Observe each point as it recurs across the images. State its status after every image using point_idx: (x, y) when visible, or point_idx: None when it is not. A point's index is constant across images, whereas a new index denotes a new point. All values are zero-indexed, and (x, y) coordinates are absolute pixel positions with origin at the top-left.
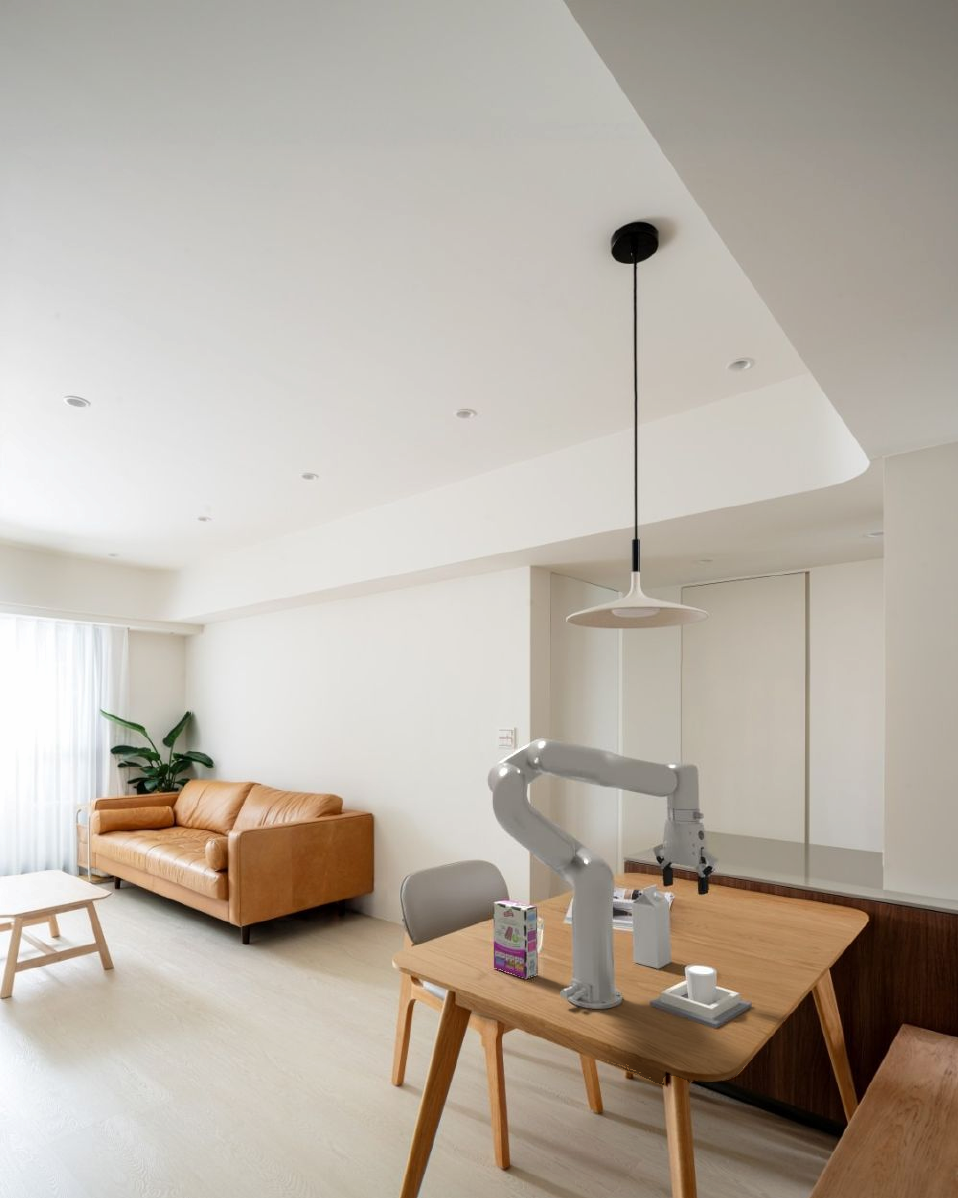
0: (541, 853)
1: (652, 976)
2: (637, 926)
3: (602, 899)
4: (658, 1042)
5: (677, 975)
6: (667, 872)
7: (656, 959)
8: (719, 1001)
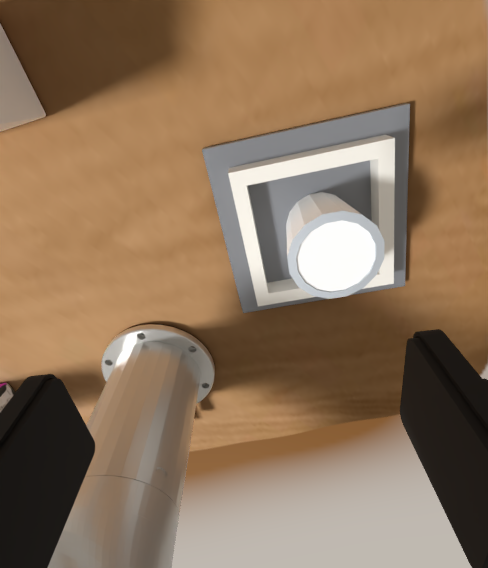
0: None
1: (93, 175)
2: None
3: None
4: (358, 387)
5: (113, 97)
6: (30, 558)
7: (27, 120)
8: (384, 235)
